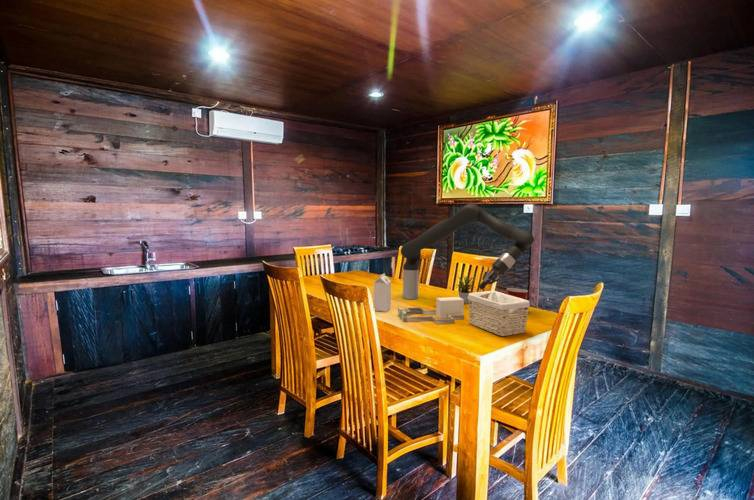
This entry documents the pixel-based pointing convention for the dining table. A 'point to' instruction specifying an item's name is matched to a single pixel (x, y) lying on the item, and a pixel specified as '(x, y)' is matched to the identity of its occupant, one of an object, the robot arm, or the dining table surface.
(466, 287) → the house plant
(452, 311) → the cream box
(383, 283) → the milk carton
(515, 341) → the dining table surface
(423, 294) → the dining table surface
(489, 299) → the storage basket
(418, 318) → the trap lane
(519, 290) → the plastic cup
